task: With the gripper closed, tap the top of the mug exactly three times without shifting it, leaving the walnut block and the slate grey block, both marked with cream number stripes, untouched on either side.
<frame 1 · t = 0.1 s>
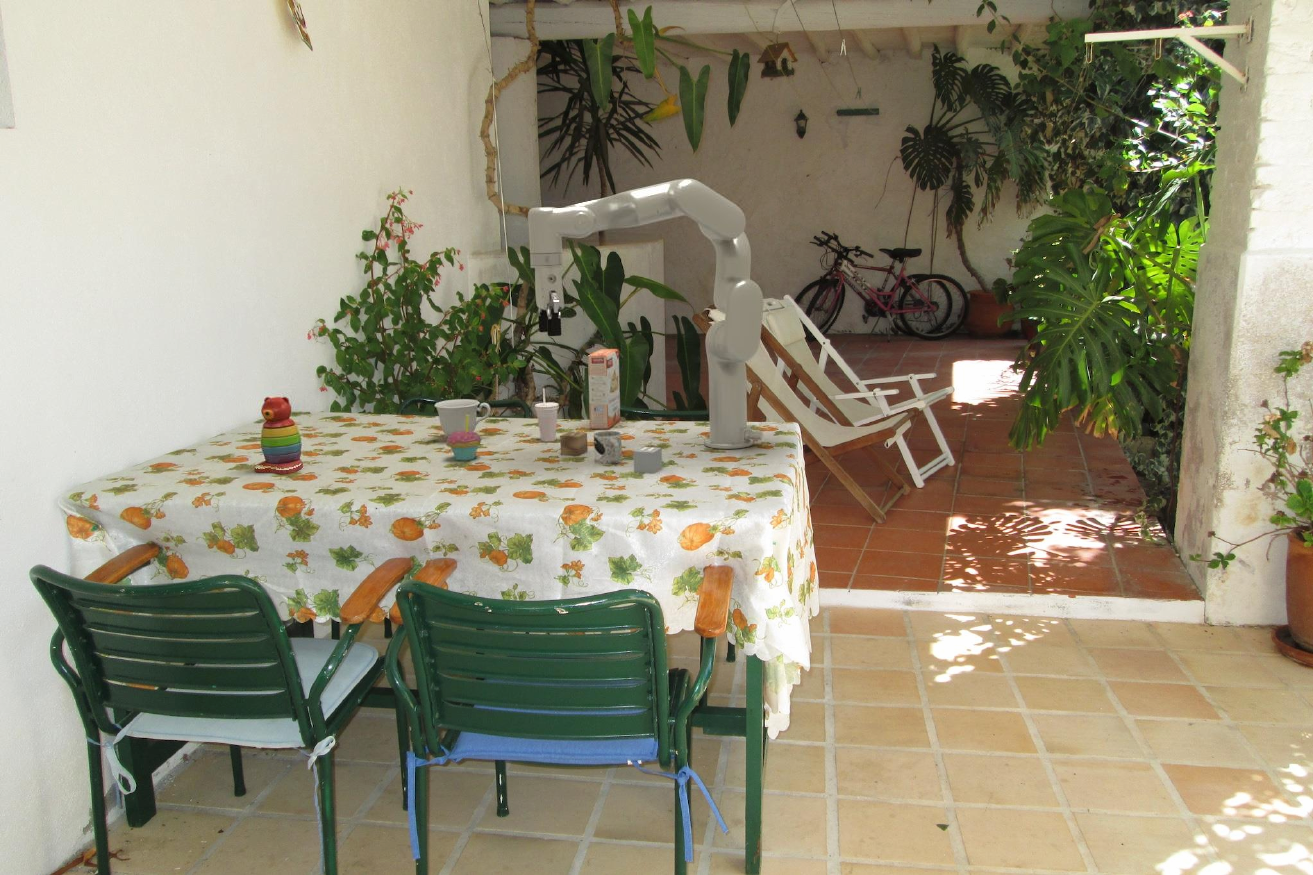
hand: (550, 333, 250), 31 cm above the table, tool pointing down, fingers open, 9 cm apart
stacking bear: (282, 469, 257), on the table
cupcake: (464, 459, 262), on the table
mug: (610, 462, 254), on the table
slate number block: (648, 470, 245), on the table
walnut number block: (574, 453, 264), on the table
teacup: (464, 439, 285), on the table
cracker box: (606, 425, 299), on the table
smoothie: (548, 440, 281), on the table
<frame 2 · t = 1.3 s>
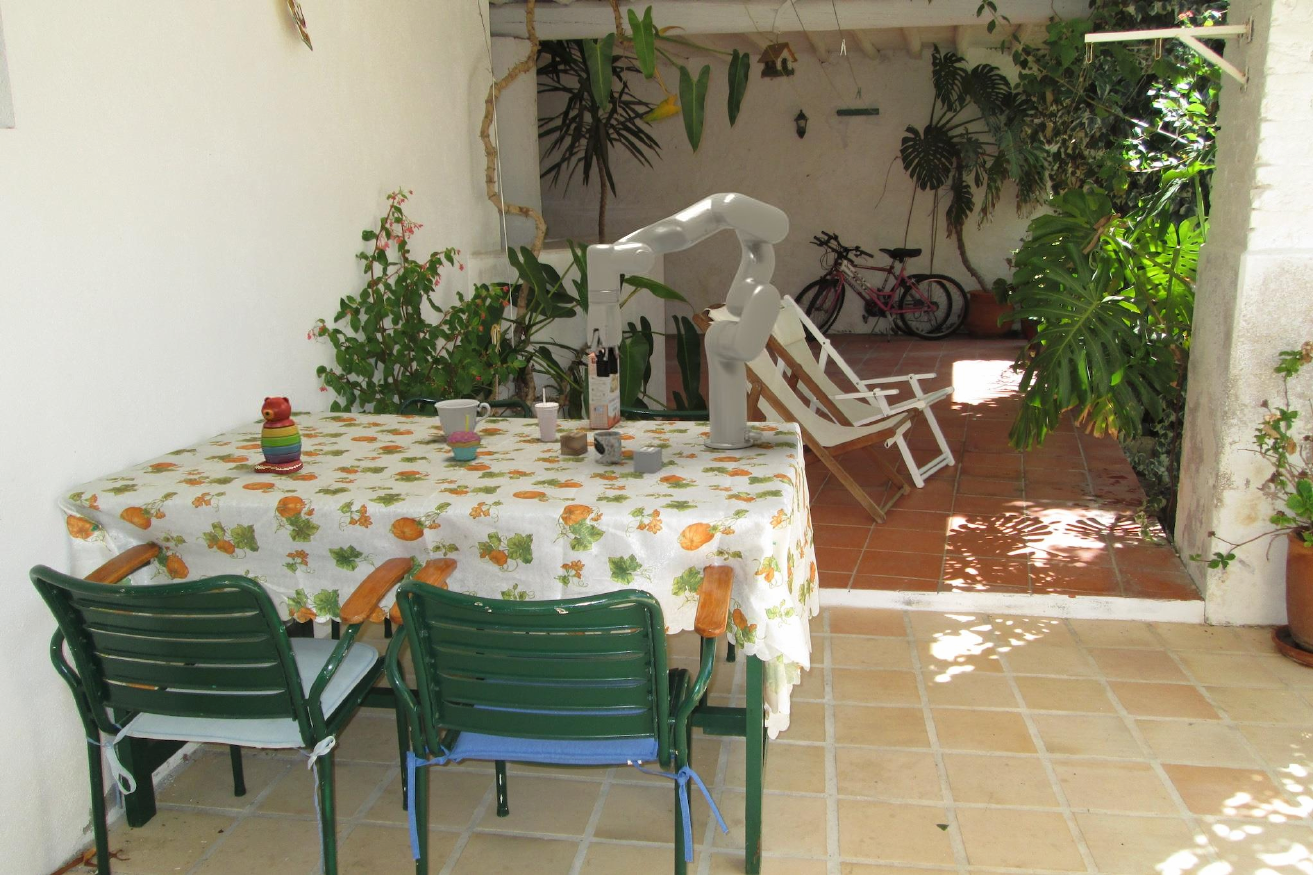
hand: (607, 374, 250), 21 cm above the table, tool pointing down, fingers open, 3 cm apart
nothing on the table moved.
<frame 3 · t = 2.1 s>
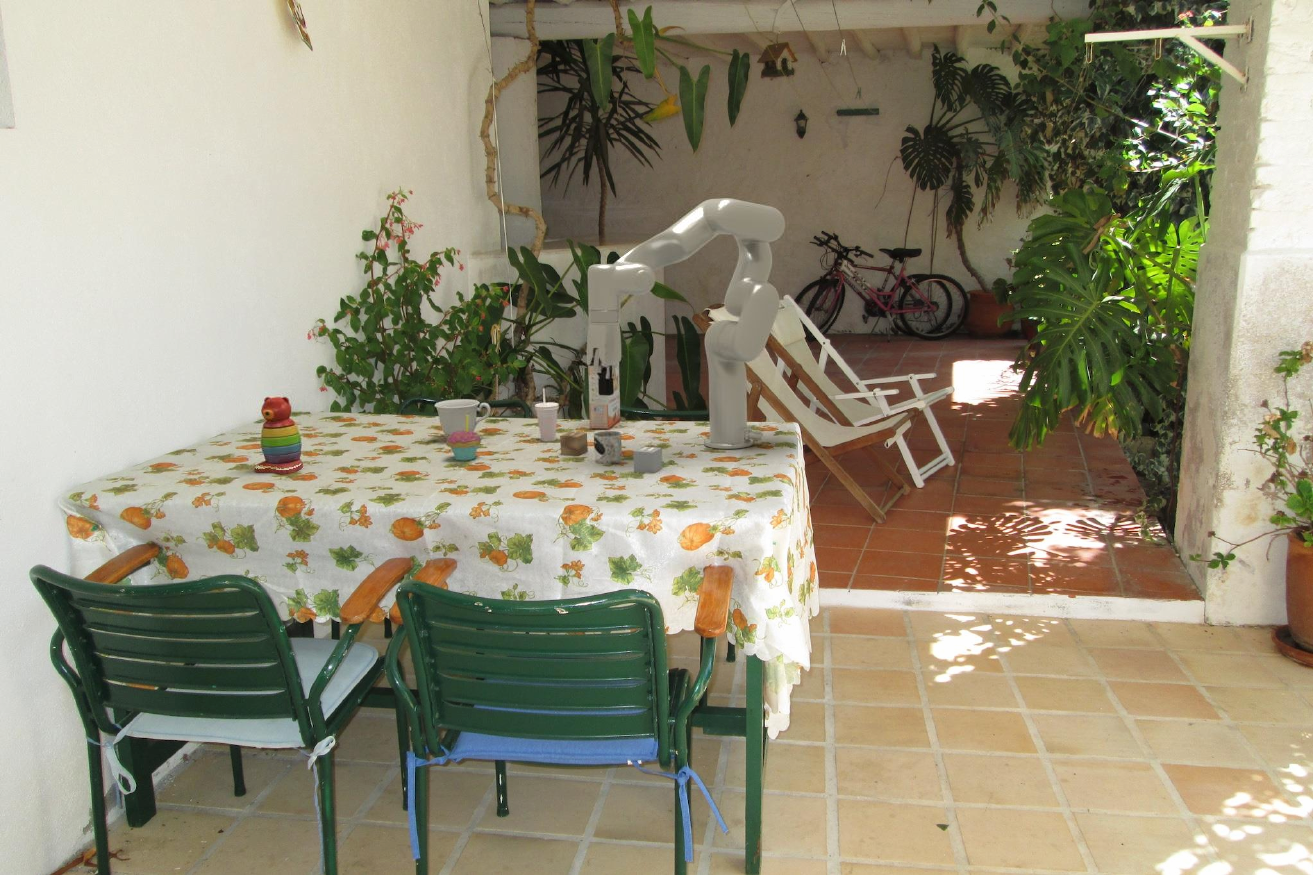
hand: (606, 394, 250), 17 cm above the table, tool pointing down, fingers closed
nothing on the table moved.
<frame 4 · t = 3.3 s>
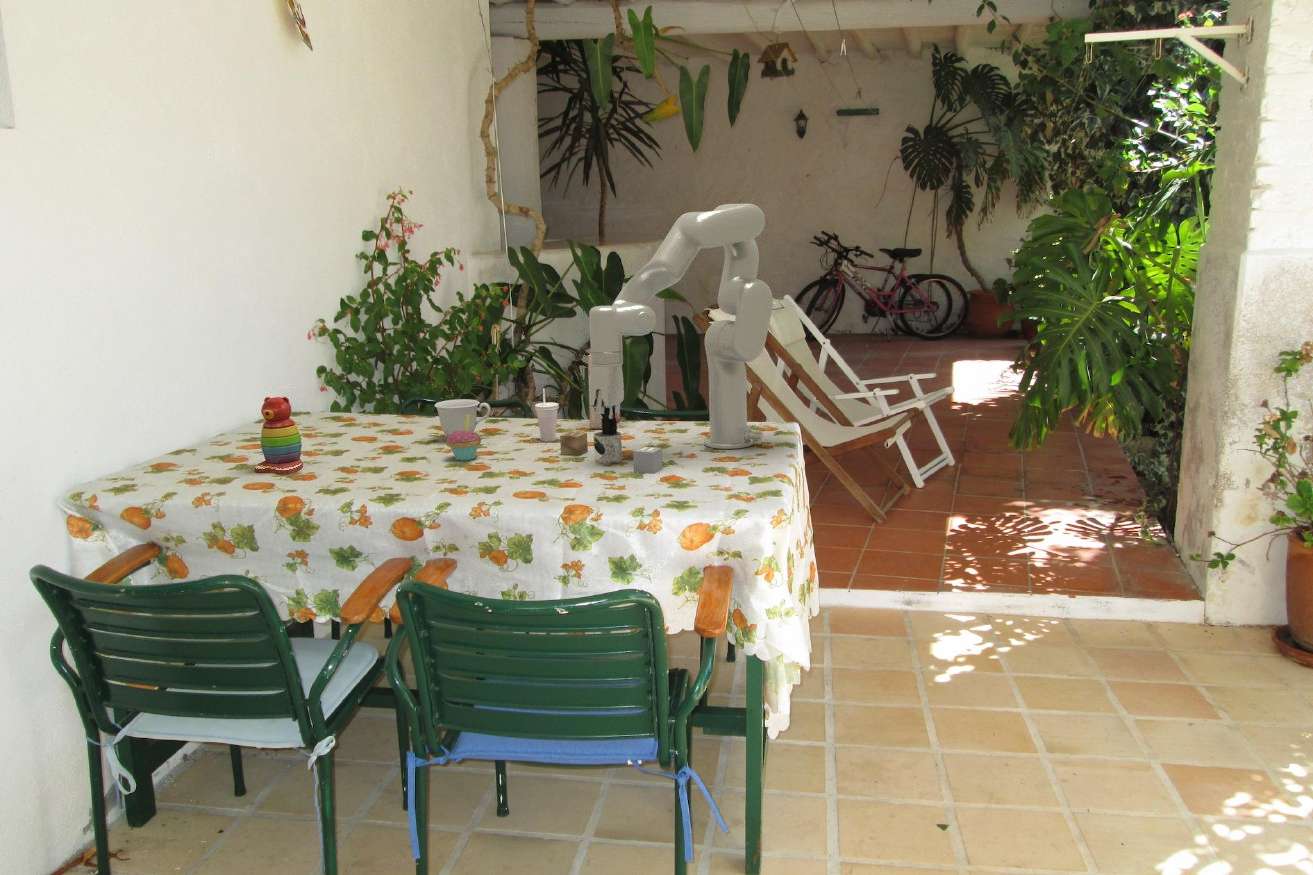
hand: (609, 434, 253), 7 cm above the table, tool pointing down, fingers closed
nothing on the table moved.
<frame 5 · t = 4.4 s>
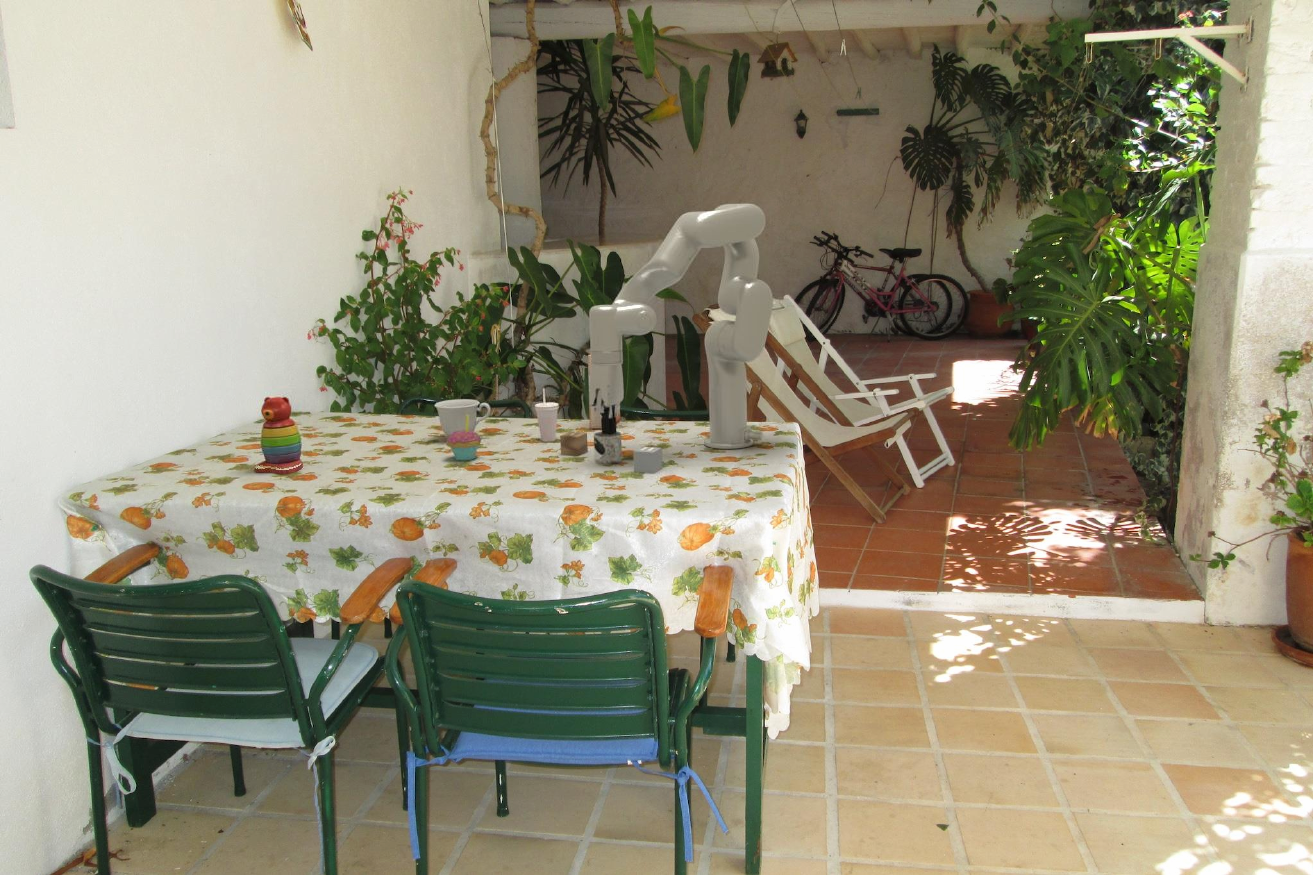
hand: (609, 433, 252), 7 cm above the table, tool pointing down, fingers closed
nothing on the table moved.
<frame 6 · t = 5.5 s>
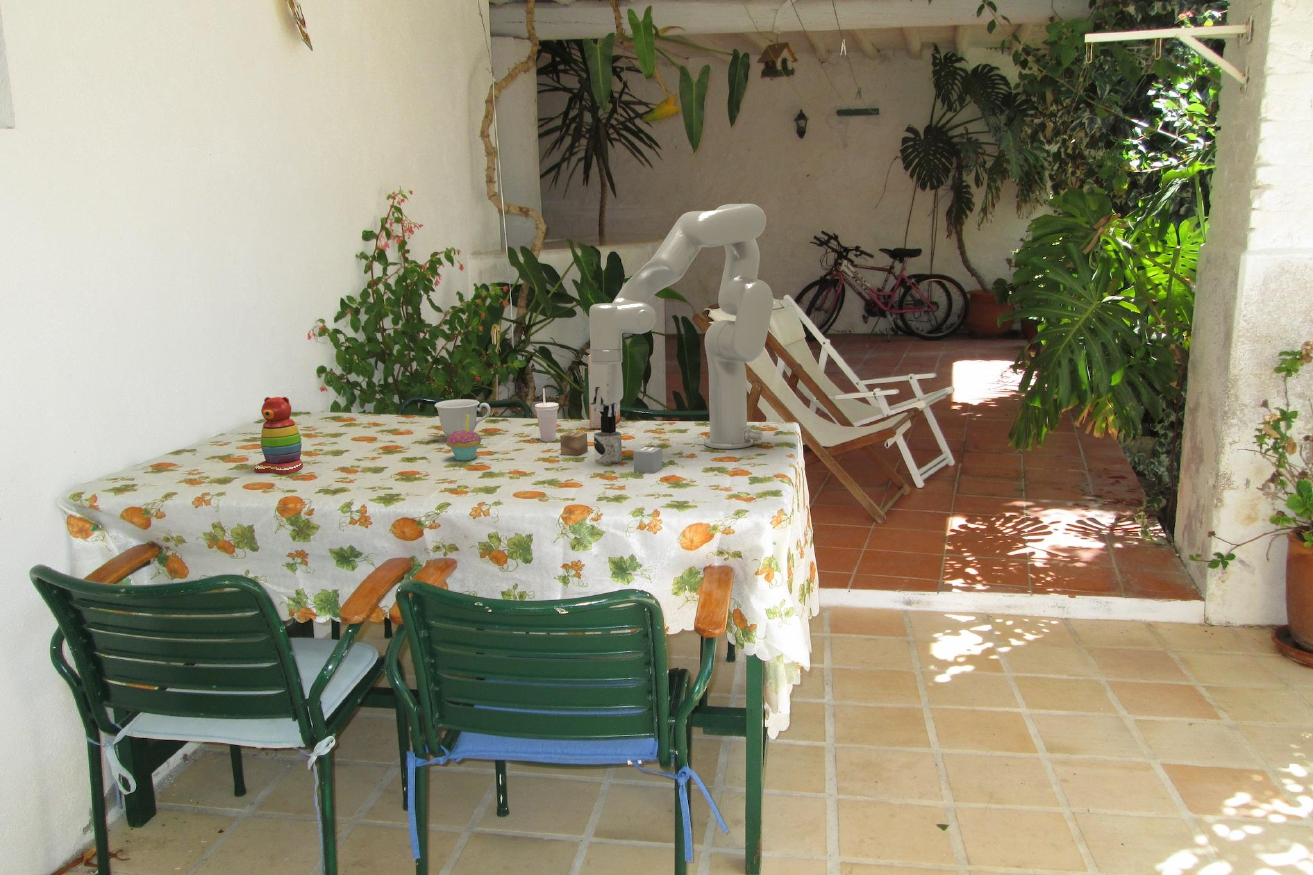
hand: (608, 432, 252), 7 cm above the table, tool pointing down, fingers closed
nothing on the table moved.
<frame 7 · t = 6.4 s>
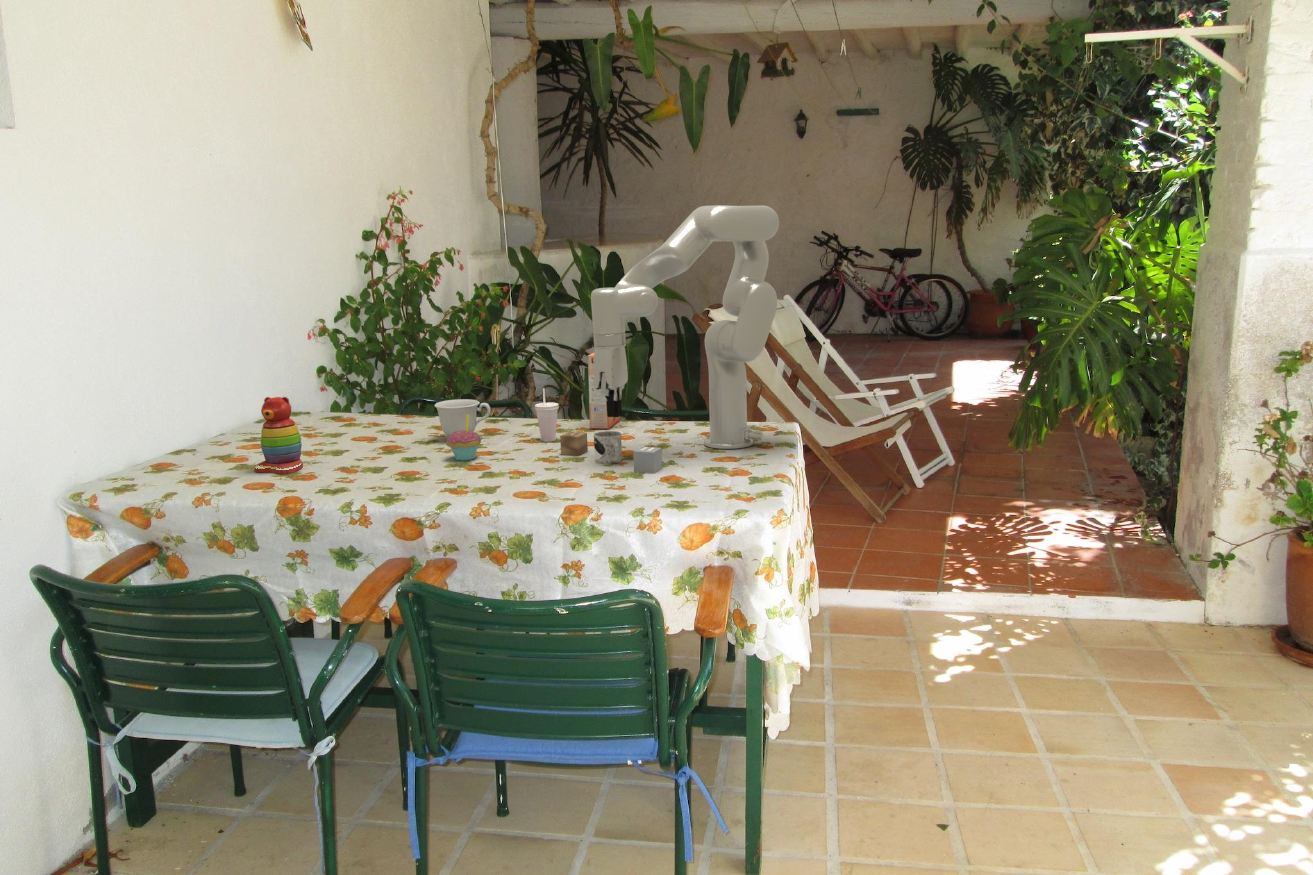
hand: (614, 416, 253), 11 cm above the table, tool pointing down, fingers closed
nothing on the table moved.
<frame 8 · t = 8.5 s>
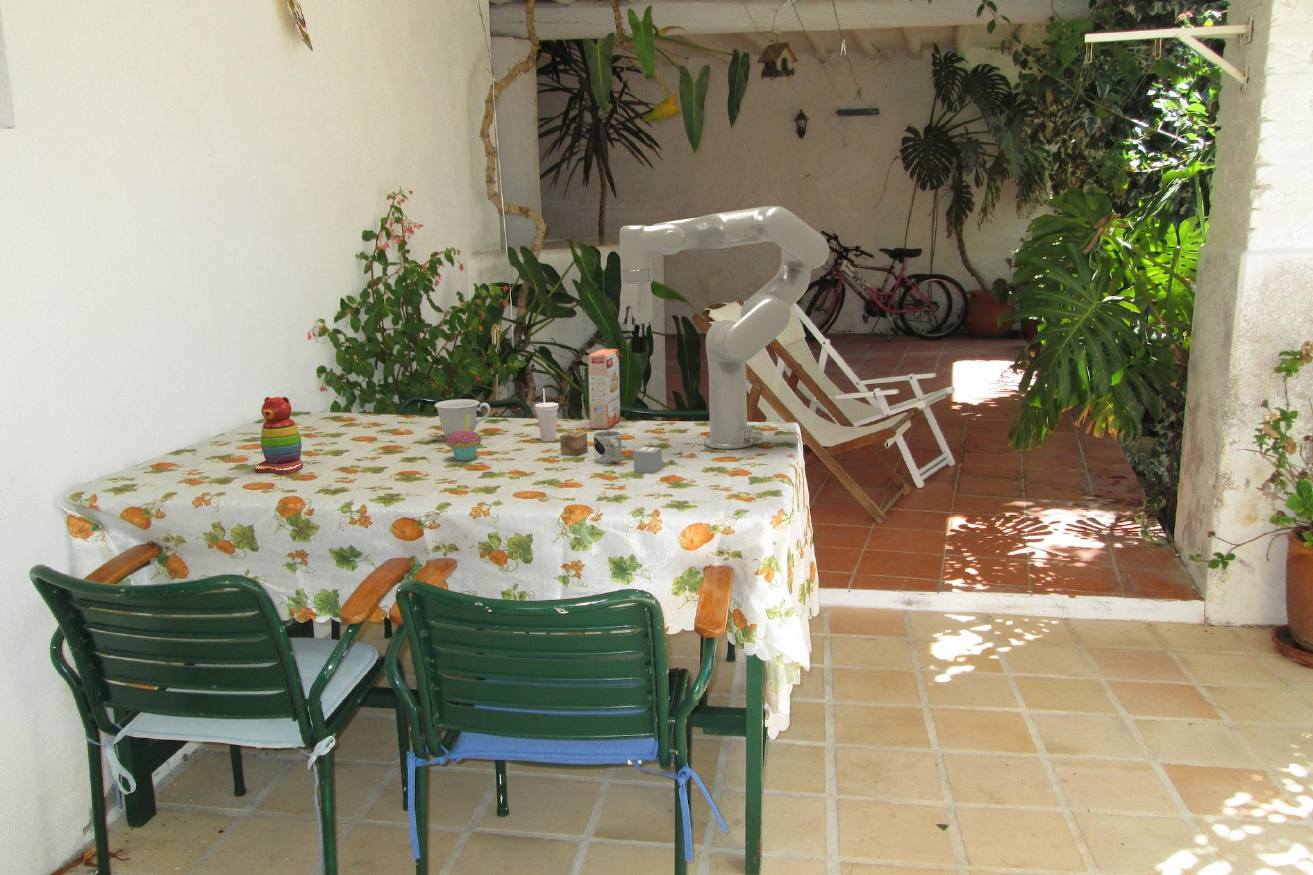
hand: (639, 352, 258), 25 cm above the table, tool pointing down, fingers closed
nothing on the table moved.
at the end: mug moved 0.3 cm from its start; mug tilted 0°; the gripper is holding nothing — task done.
